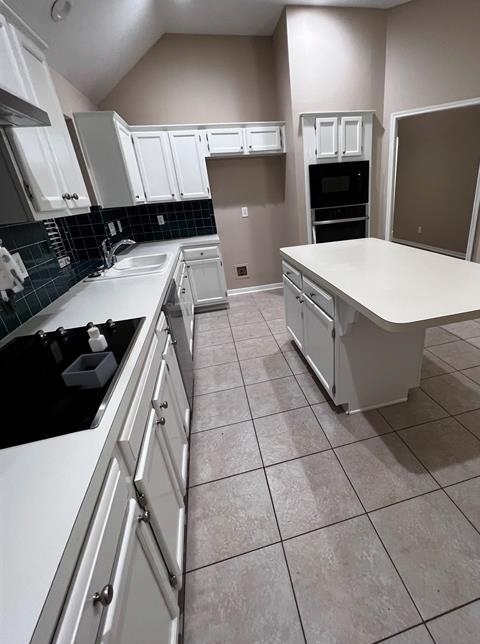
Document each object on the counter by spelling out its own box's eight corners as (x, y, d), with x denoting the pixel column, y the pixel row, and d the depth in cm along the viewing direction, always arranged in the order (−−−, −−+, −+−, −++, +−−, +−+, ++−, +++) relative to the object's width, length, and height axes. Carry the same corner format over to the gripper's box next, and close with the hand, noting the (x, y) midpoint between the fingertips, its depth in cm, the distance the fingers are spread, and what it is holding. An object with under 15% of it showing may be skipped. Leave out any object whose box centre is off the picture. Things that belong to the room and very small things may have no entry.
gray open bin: (61, 374, 92) (95, 371, 92) (81, 354, 102) (112, 351, 102) (69, 390, 95) (102, 387, 95) (88, 370, 105) (118, 366, 105)
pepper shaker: (109, 349, 117) (100, 326, 113) (104, 354, 113) (95, 331, 109) (98, 350, 117) (89, 327, 113) (93, 355, 113) (83, 332, 109)
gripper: (20, 239, 81) (49, 305, 88) (-39, 244, 80) (-5, 310, 88) (-2, 245, 74) (31, 316, 81) (-67, 251, 73) (-28, 322, 81)
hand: (12, 313), depth 85 cm, fingers closed
